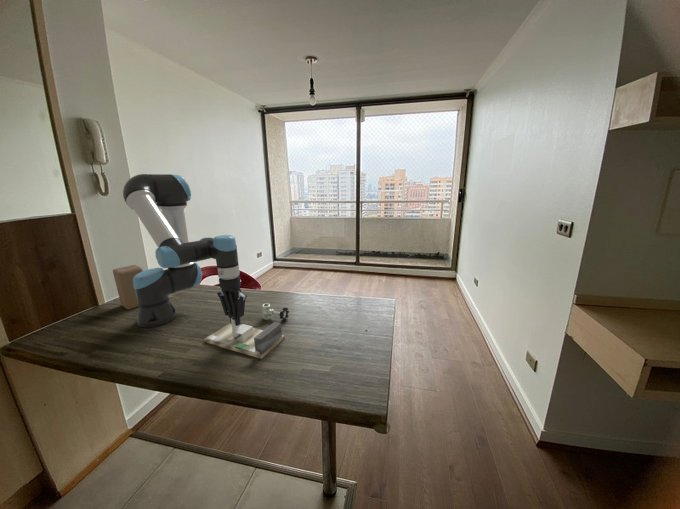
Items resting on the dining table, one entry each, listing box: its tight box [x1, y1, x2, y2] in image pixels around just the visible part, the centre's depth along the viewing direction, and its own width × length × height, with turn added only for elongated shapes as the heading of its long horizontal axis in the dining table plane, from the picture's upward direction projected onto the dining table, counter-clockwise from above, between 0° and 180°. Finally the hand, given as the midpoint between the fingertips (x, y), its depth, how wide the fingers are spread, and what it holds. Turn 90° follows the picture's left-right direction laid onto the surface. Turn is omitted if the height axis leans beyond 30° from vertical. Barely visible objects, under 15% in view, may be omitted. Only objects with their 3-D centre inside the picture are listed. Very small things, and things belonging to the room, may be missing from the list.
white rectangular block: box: [232, 323, 254, 342], centre depth 102 cm, size 5×9×4 cm, turn 157°
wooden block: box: [112, 264, 144, 310], centre depth 134 cm, size 10×10×20 cm
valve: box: [261, 303, 290, 323], centre depth 119 cm, size 7×7×12 cm
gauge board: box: [204, 321, 286, 360], centre depth 103 cm, size 28×14×7 cm, turn 67°
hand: (236, 331), depth 105 cm, fingers closed
